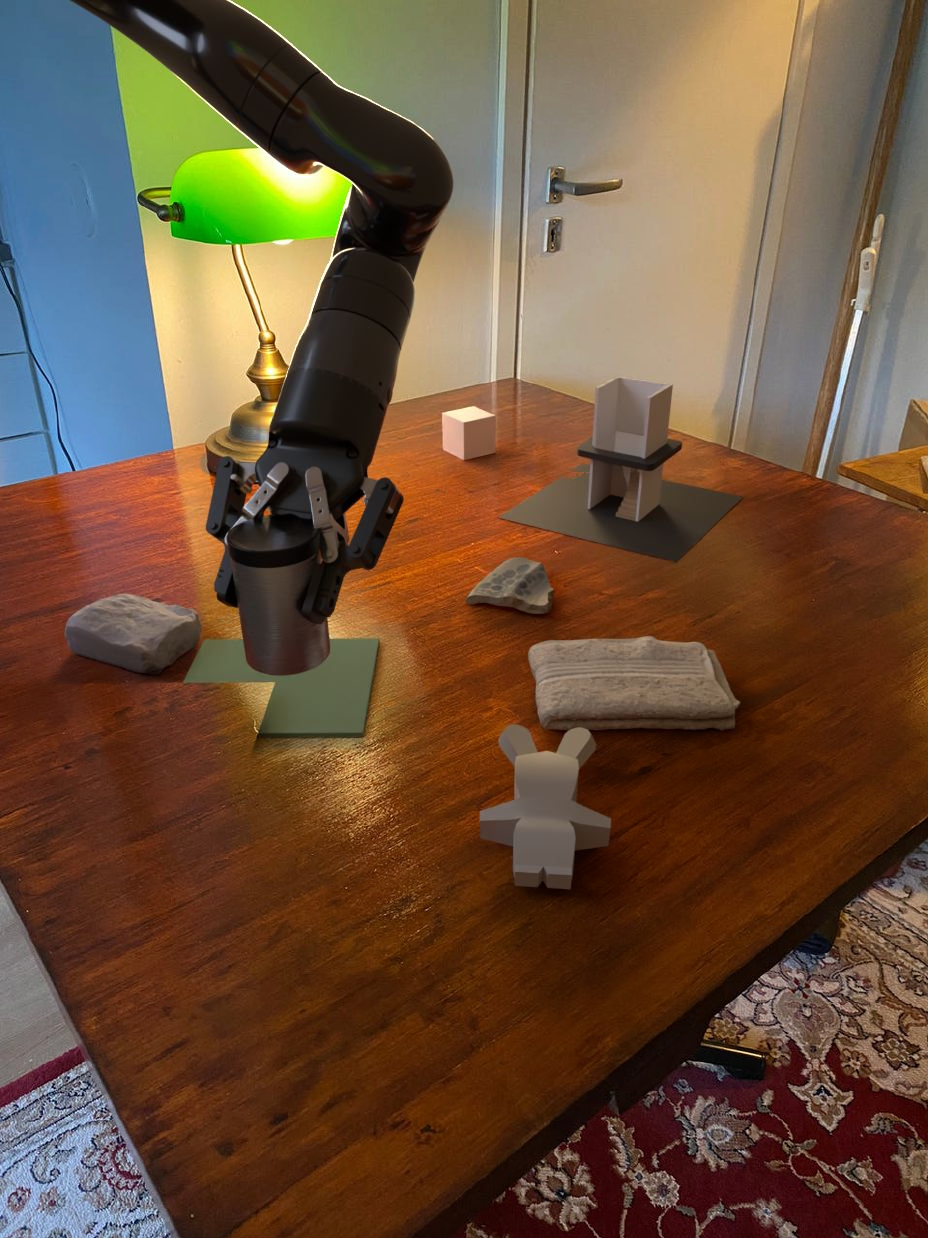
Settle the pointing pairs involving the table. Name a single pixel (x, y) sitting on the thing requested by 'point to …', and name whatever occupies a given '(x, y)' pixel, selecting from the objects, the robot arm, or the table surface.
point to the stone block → (133, 632)
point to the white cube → (468, 432)
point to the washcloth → (630, 685)
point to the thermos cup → (277, 593)
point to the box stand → (627, 480)
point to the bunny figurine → (545, 809)
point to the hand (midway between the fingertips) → (269, 611)
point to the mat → (301, 687)
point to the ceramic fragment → (516, 587)
